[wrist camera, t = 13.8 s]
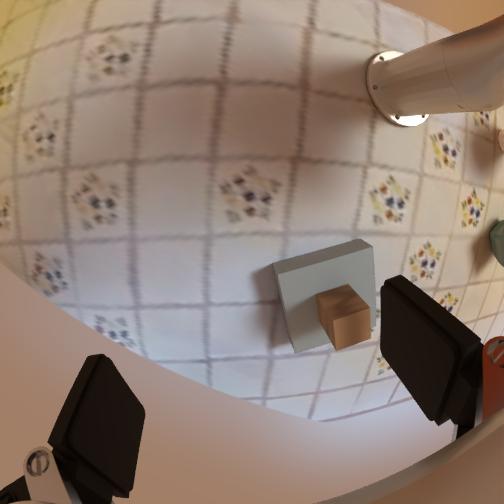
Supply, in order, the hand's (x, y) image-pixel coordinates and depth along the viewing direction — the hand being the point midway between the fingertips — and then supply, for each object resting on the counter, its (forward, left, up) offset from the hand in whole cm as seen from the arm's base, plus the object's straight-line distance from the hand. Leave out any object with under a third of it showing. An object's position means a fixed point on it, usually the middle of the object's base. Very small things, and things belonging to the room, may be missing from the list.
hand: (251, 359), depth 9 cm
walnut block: (-11, +17, -26) cm, 33 cm away
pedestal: (-11, +17, -30) cm, 36 cm away
